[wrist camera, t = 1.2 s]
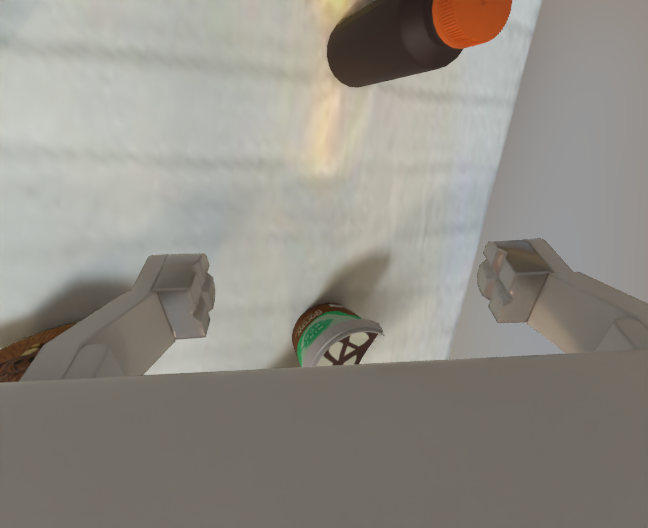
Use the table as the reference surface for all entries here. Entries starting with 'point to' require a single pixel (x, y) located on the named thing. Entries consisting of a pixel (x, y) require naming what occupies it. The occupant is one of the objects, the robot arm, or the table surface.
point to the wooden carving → (25, 353)
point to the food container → (332, 336)
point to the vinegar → (410, 37)
